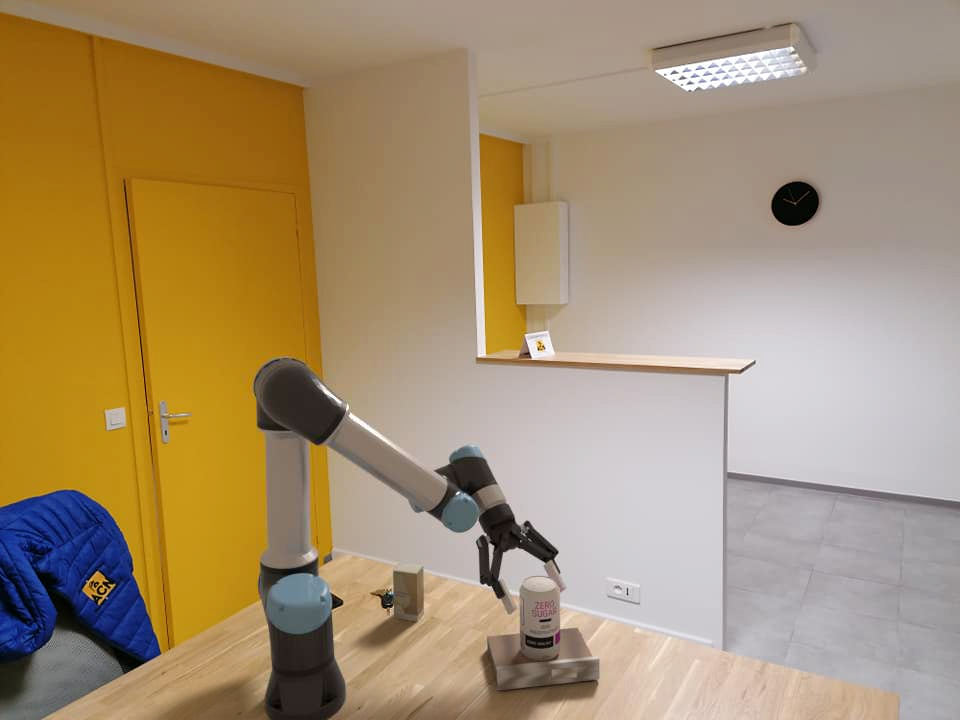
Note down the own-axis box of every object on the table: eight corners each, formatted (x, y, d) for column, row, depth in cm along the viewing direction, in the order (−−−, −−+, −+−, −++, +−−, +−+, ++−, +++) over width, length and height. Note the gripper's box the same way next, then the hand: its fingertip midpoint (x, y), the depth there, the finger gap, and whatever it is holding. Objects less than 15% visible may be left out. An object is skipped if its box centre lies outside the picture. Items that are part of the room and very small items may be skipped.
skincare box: (393, 618, 164) (391, 570, 162) (400, 609, 168) (398, 561, 166) (418, 622, 162) (416, 573, 160) (425, 613, 166) (423, 564, 164)
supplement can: (540, 636, 149) (539, 570, 147) (568, 652, 143) (568, 584, 141) (512, 650, 144) (511, 582, 142) (540, 668, 138) (539, 597, 136)
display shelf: (498, 693, 135) (497, 670, 134) (486, 649, 150) (485, 628, 149) (599, 682, 138) (599, 659, 137) (578, 640, 153) (578, 619, 152)
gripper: (527, 505, 163) (572, 589, 153) (438, 532, 148) (482, 627, 139) (542, 489, 158) (590, 576, 148) (452, 516, 143) (499, 614, 133)
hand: (538, 601), depth 143 cm, fingers open, 13 cm apart
